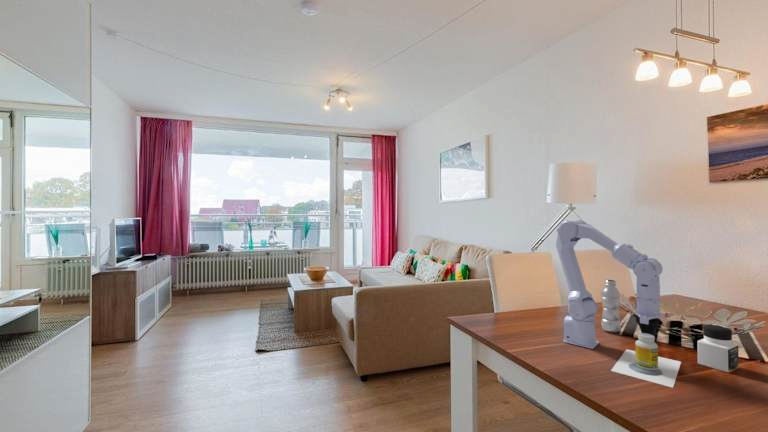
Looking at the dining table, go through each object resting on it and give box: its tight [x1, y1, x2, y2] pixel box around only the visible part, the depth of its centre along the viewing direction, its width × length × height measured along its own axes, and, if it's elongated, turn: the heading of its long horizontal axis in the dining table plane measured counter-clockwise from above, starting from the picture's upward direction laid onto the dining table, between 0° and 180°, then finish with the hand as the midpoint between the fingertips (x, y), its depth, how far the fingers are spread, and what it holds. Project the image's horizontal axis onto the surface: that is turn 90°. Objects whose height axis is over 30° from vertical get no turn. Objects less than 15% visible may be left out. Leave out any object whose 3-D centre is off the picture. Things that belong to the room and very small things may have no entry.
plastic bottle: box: [600, 279, 622, 333], centre depth 132 cm, size 6×7×20 cm
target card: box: [610, 349, 682, 388], centre depth 102 cm, size 14×22×1 cm, turn 134°
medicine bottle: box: [696, 323, 740, 374], centre depth 102 cm, size 7×7×12 cm
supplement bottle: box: [634, 332, 659, 370], centre depth 101 cm, size 5×5×10 cm
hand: (648, 341), depth 104 cm, fingers closed
